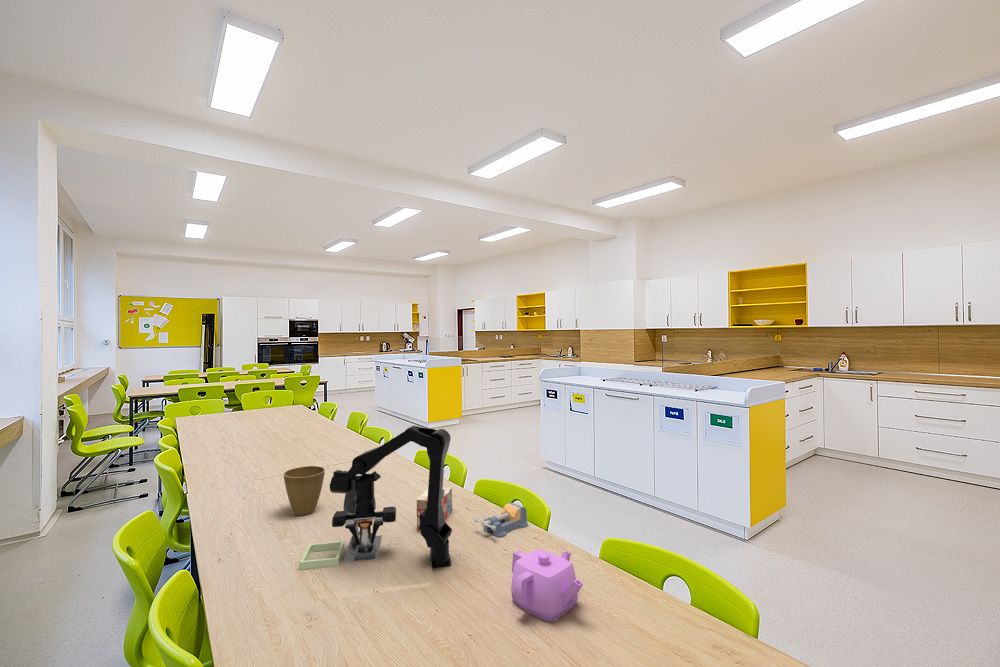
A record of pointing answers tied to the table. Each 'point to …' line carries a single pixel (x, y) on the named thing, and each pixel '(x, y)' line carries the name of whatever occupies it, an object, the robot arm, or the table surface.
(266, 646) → the table surface
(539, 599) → the teakettle
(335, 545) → the tray
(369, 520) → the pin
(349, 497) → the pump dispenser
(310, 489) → the plant pot
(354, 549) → the tensioner
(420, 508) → the stack of blocks
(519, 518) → the vise
